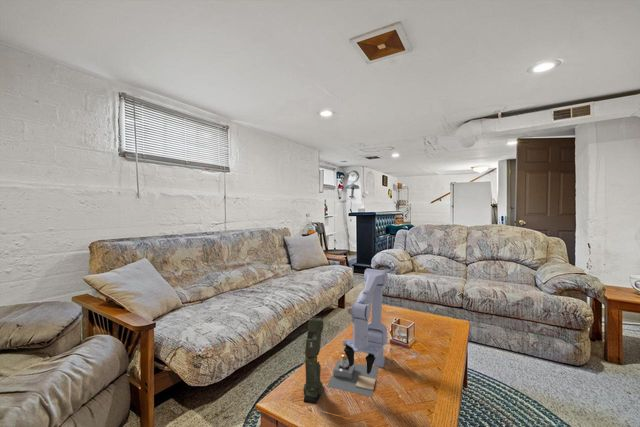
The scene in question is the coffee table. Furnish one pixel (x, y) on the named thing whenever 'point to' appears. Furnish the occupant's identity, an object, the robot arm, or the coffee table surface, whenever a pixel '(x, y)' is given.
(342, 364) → the gold capped metal cylinder
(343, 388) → the mat
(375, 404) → the coffee table surface
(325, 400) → the coffee table surface
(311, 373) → the mechanical leg
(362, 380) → the cork pad
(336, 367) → the block
